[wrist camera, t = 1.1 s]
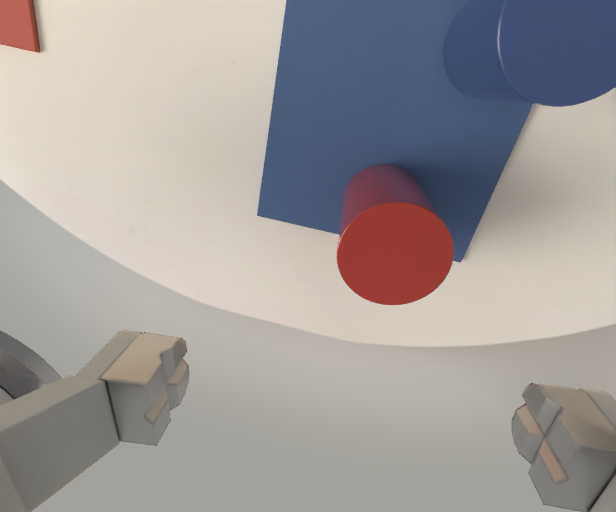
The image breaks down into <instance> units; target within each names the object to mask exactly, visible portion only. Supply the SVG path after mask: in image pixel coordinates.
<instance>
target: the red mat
mask: <svg viewBox="0 0 616 512" xmlns="http://www.w3.org/2000/svg"><path fill="white" fill-rule="evenodd" d="M0 44H2V45H7V46H11V47H16V48H20V49H25V50H29V51H34V52H39V44H38V37H37V30H36V23H35V16H34V9H33V1H32V0H0Z"/></svg>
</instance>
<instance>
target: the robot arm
mask: <svg viewBox="0 0 616 512" xmlns="http://www.w3.org/2000/svg"><path fill="white" fill-rule="evenodd" d="M186 352H187V347H186V341H185V340H184V339H183V338H178V337H171V336H165V335H159V334H152V333H145V332H144V333H142V332H136V331H130V330H123V331H120V332H118V333H117V334H116V335H115V336H114V337H113V338H112V339H111V340H110V341H109V342H108V343H107V344H106V345H105V346H104V347H103V348H102V349H101V350H100V351H99V352H98V353H97V354H96V355H95V356H94V357H93V359H92V360H90V361H89V362H88V363H87V364H86V366H85V367H83V368H82V370H80V371H79V373H78V374H77V375H76V376H66V377H64V378H62V379H59V380H57V381H55V382H53V383H50V384H48V385H46V386H44V387H42V388H39V389H37V390H35V391H33V392H30V393H28V394H26V395H24V396H22V397H19V398H17V399H15V400H14V399H13V398H12V397H11V396H10V395H9V394H8V393H7V392H5V391H4V390H3V389H2V388H0V512H31V511H32V510H34V509H35V508H36V507H38V506H39V505H40V504H42V503H43V502H44V501H45V500H47V499H48V498H49V497H51V496H52V495H53V494H55V493H56V492H57V491H59V490H60V489H61V488H62V487H64V486H65V485H66V484H68V483H69V482H70V481H71V480H73V479H74V478H75V477H77V476H78V475H79V474H81V473H82V472H83V471H85V470H86V469H87V468H88V467H90V466H91V465H92V464H94V463H95V462H96V461H98V460H99V459H100V458H101V457H103V456H104V455H105V454H107V453H108V452H109V451H110V450H112V449H113V448H114V447H116V446H117V445H118V444H119V443H120V442H119V441H122V442H130V443H139V444H147V445H155V446H157V444H158V442H159V440H160V439H161V437H162V435H163V433H164V431H165V430H166V428H167V426H168V424H169V422H170V421H171V418H170V410H172V409H173V408H175V407H176V406H178V405H180V403H181V401H182V399H183V397H184V395H185V392H186V389H187V386H188V382H189V366H188V364H187V363H186V362H185V361H184V360H183V357H184V356H185V354H186ZM523 398H524V400H525V402H526V404H524V405H523V406H521V407H520V408H518V409H516V411H515V413H514V416H513V418H512V435H513V440H514V443H515V445H516V447H517V450H518V452H519V454H521V455H522V456H523V457H524V458H525V459H526V460H527V461H528V462H529V463H531V465H530V469H529V472H528V473H529V475H530V477H531V479H532V482H533V483H534V486H535V488H536V490H537V492H538V494H539V496H540V498H541V500H542V502H543V504H544V505H547V506H553V507H559V508H564V509H570V510H575V511H581V512H616V401H615V399H614V398H613V397H612V396H611V395H609V394H607V393H606V392H604V391H598V390H589V389H580V388H579V389H575V388H568V387H560V386H552V385H543V384H534V383H531V384H530V385H528V386H527V387H526V389H525V391H524V393H523Z"/></svg>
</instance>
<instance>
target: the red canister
mask: <svg viewBox="0 0 616 512" xmlns="http://www.w3.org/2000/svg"><path fill="white" fill-rule="evenodd" d="M453 257H454V246H453V240H452V236H451V234H450V232H449V230H448V228H447V226H446V225H445V223H444V222H443V220H442V219H441V217H440V216H439V214H438V213H437V211H436V209H435V208H434V206H433V205H432V203H431V202H430V200H429V199H428V197H427V196H426V194H425V193H424V191H423V190H422V188H421V187H420V185H419V183H418V182H417V180H416V179H415V178H414V177H413V175H412V174H410V173H409V172H408V171H406V170H405V169H403V168H401V167H399V166H395V165H391V164H378V165H373V166H370V167H367V168H365V169H363V170H362V171H360V172H359V173H357V174H356V175H355V176H354V177H353V178H352V179H351V180H350V182H349V183H348V185H347V187H346V189H345V191H344V194H343V199H342V208H341V217H340V227H339V236H338V245H337V264H338V268H339V271H340V274H341V276H342V278H343V280H344V281H345V283H346V284H347V285H348V286H349V287H350V288H351V289H352V290H353V291H354V292H355V293H356V294H358V295H359V296H361V297H363V298H364V299H367V300H369V301H371V302H375V303H378V304H384V305H401V304H407V303H411V302H414V301H417V300H419V299H421V298H423V297H425V296H427V295H428V294H430V293H431V292H433V291H434V290H435V289H436V288H437V287H438V286H439V285H440V284H441V283H442V282H443V281H444V279H445V278H446V276H447V274H448V273H449V271H450V268H451V265H452V262H453Z"/></svg>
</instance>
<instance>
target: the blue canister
mask: <svg viewBox="0 0 616 512" xmlns="http://www.w3.org/2000/svg"><path fill="white" fill-rule="evenodd" d="M443 61H444V67H445V71H446V74H447V76H448V78H449V80H450V82H451V83H452V84H453V86H454V87H455V88H456V89H457V90H458V91H460V92H461V93H463V94H465V95H467V96H469V97H472V98H477V99H486V100H495V101H505V102H514V103H523V104H533V105H542V106H552V107H563V106H571V105H576V104H580V103H584V102H587V101H589V100H592V99H595V98H597V97H599V96H601V95H603V94H605V93H607V92H608V91H610V90H612V89H613V88H615V87H616V0H469V1H468V2H467V3H466V4H465V5H464V6H463V7H462V8H461V10H460V11H459V12H458V13H457V15H456V16H455V18H454V19H453V21H452V23H451V25H450V27H449V29H448V32H447V35H446V38H445V42H444V49H443Z"/></svg>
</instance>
